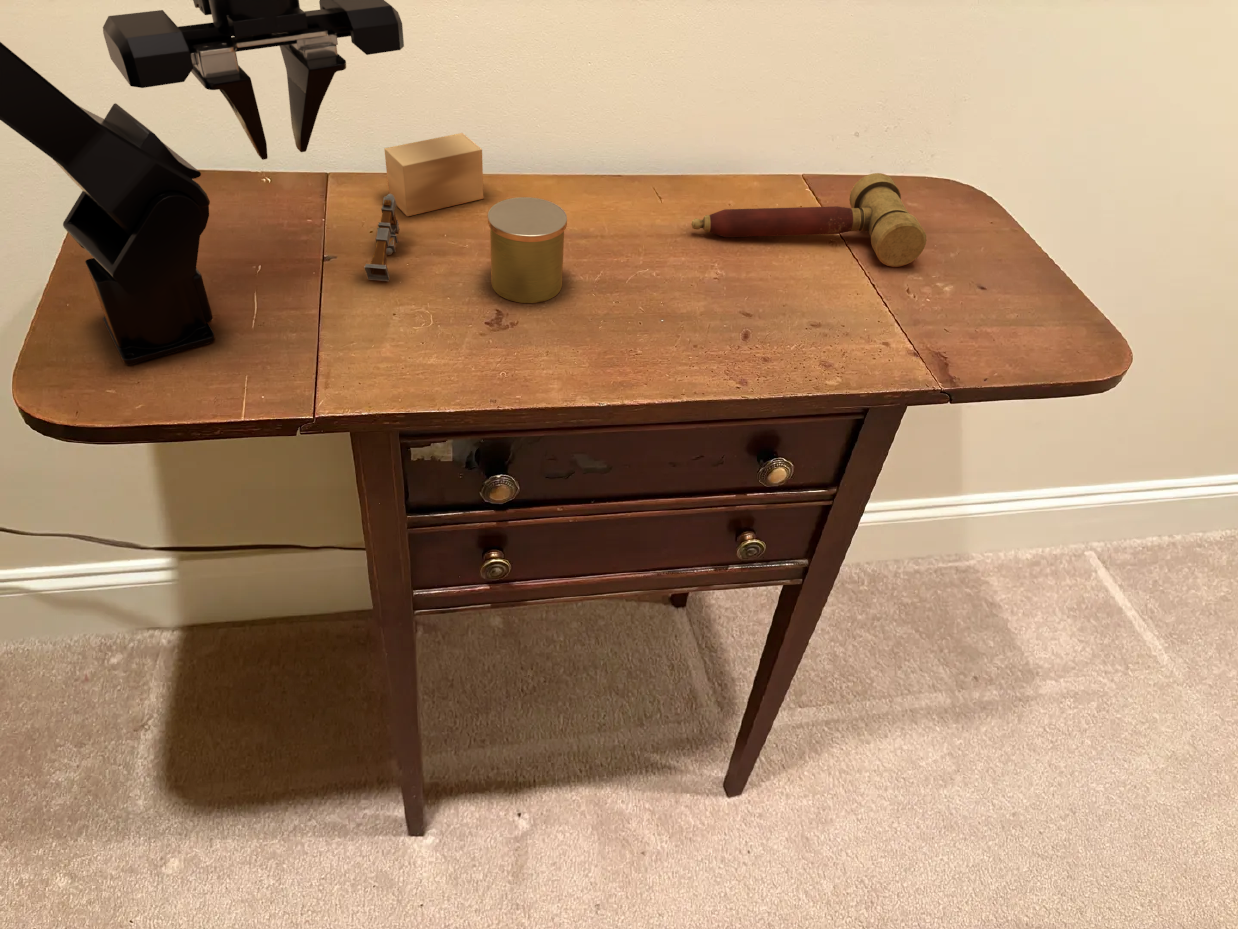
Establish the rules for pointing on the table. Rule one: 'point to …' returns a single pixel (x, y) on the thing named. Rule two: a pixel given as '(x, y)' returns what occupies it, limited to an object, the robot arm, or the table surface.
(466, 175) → the birch block
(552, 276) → the enamel tin
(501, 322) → the table surface
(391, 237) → the wooden lantern post
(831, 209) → the gavel
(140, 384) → the table surface
